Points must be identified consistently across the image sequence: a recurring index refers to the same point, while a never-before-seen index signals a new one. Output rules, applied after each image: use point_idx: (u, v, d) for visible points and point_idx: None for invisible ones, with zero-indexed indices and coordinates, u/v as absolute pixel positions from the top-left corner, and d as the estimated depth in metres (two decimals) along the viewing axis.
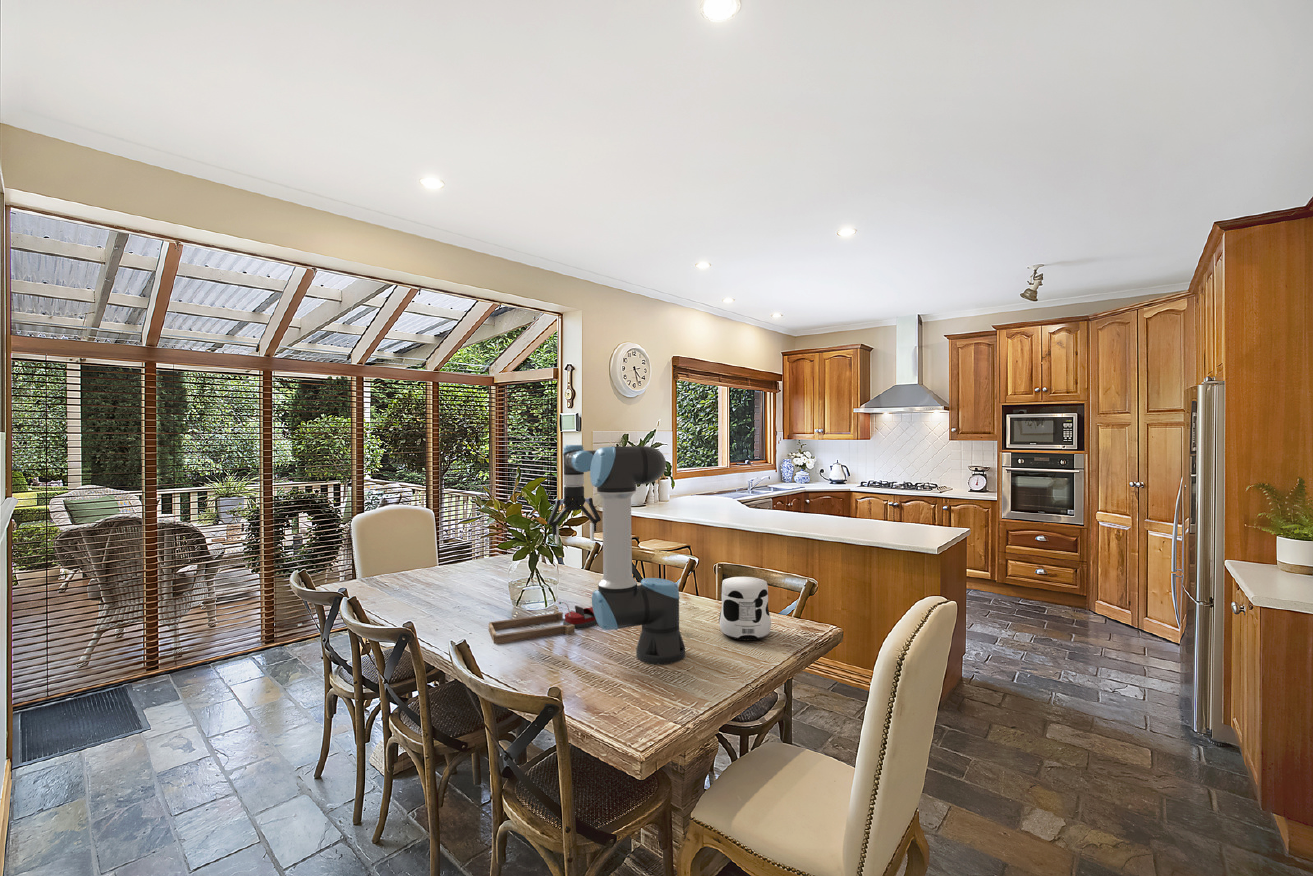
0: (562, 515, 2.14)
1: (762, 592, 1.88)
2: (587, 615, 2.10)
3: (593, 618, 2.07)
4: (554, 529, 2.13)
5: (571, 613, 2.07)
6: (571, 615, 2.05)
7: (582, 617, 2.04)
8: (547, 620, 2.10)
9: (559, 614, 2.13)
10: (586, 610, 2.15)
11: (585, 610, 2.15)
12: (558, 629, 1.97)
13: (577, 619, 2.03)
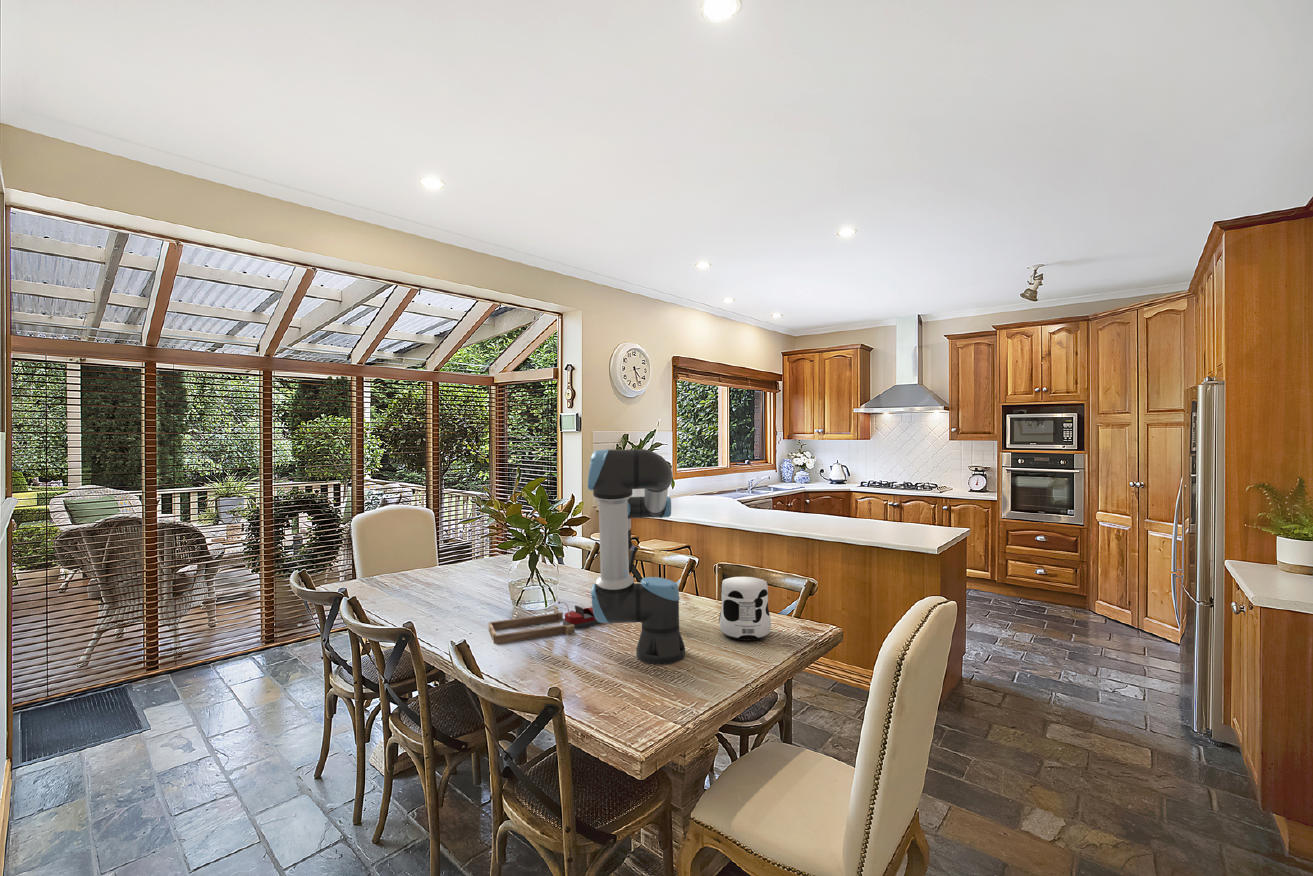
0: None
1: (762, 592, 1.88)
2: (587, 615, 2.10)
3: (593, 618, 2.06)
4: None
5: (571, 613, 2.07)
6: (570, 614, 2.06)
7: (581, 617, 2.04)
8: (547, 620, 2.10)
9: (559, 614, 2.13)
10: (587, 610, 2.15)
11: (586, 610, 2.15)
12: (558, 629, 1.97)
13: (576, 619, 2.03)
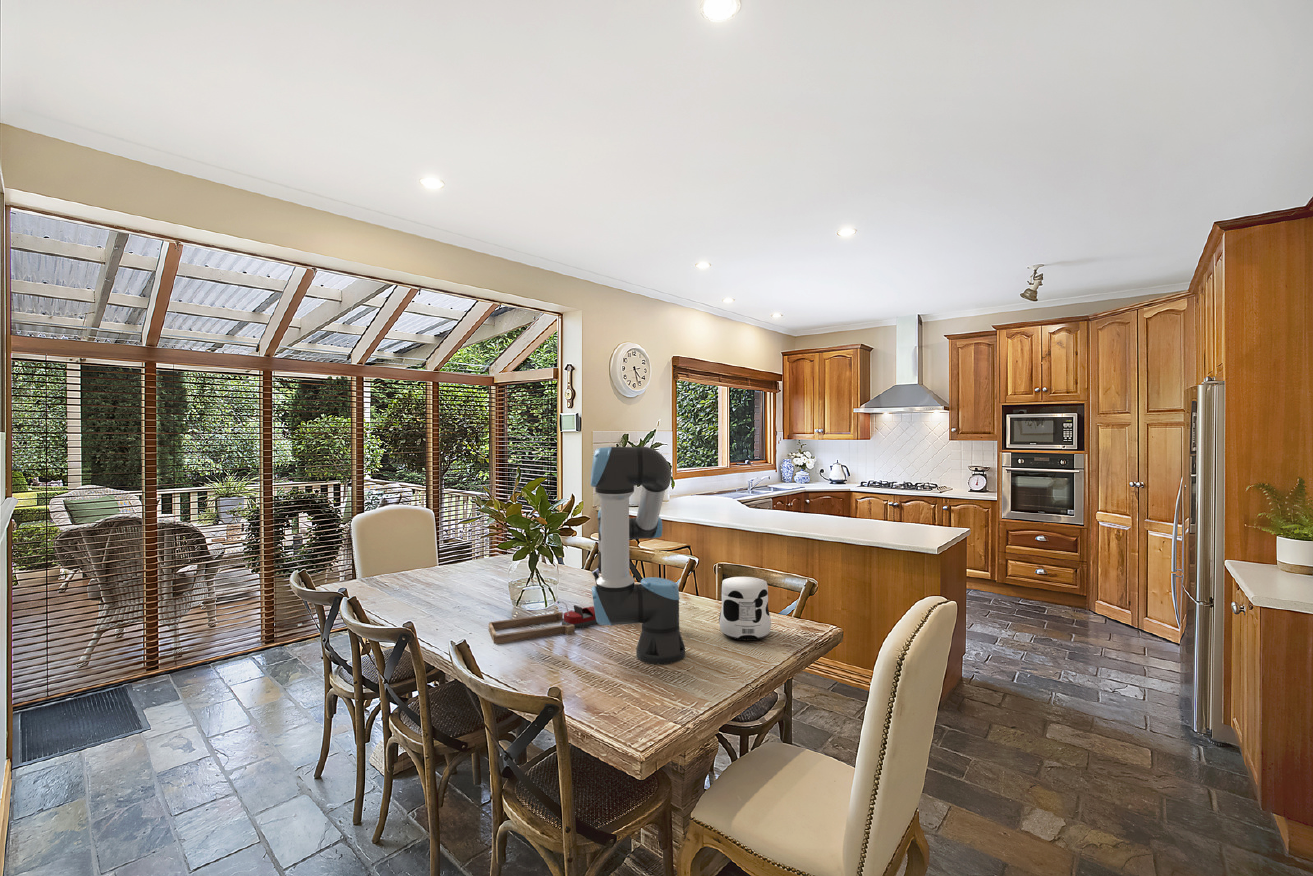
0: None
1: (762, 592, 1.88)
2: (586, 615, 2.10)
3: (592, 618, 2.06)
4: None
5: (570, 612, 2.07)
6: (569, 614, 2.05)
7: (580, 617, 2.04)
8: (547, 620, 2.10)
9: (559, 614, 2.13)
10: (585, 610, 2.15)
11: (584, 610, 2.14)
12: (558, 629, 1.97)
13: (576, 618, 2.03)
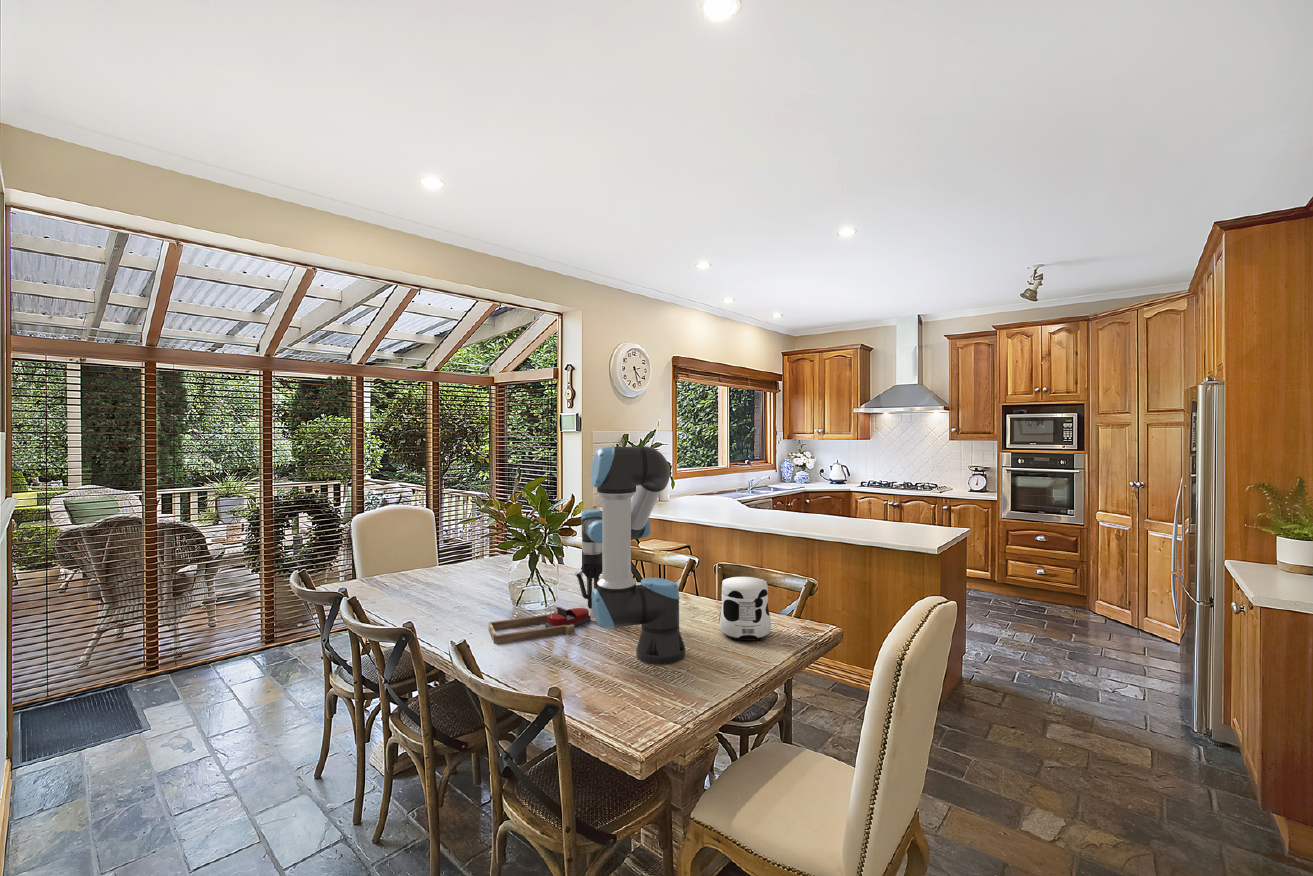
0: (590, 586, 2.09)
1: (762, 592, 1.88)
2: (569, 616, 2.08)
3: (575, 619, 2.04)
4: (590, 603, 2.09)
5: (553, 615, 2.05)
6: (553, 616, 2.03)
7: (564, 618, 2.02)
8: None
9: None
10: (568, 611, 2.13)
11: (567, 611, 2.12)
12: (558, 629, 1.97)
13: (559, 620, 2.01)
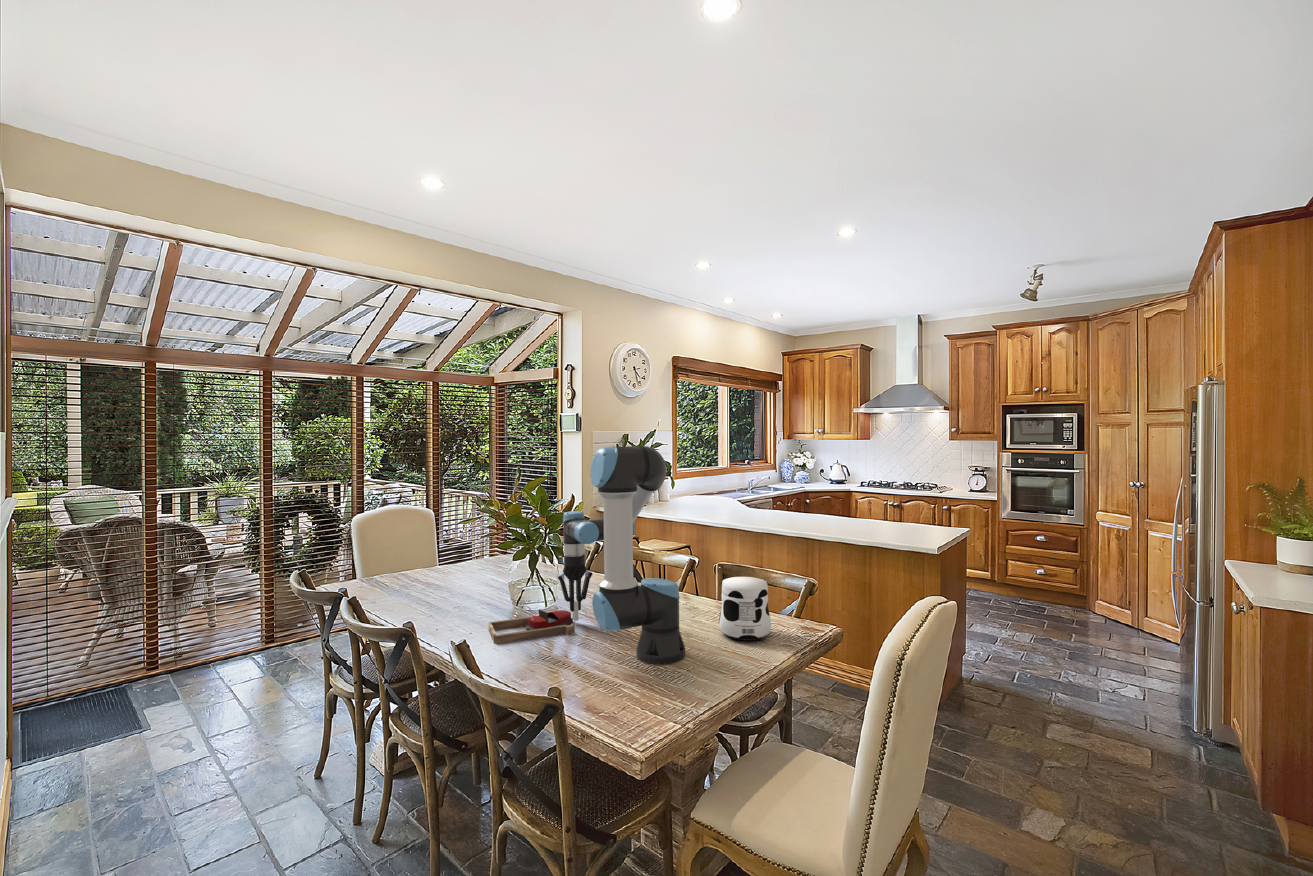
0: (572, 588, 2.06)
1: (762, 592, 1.88)
2: (551, 619, 2.05)
3: (557, 622, 2.02)
4: (572, 605, 2.06)
5: (534, 617, 2.02)
6: (534, 619, 2.00)
7: (545, 621, 1.99)
8: None
9: None
10: (551, 614, 2.10)
11: (549, 614, 2.09)
12: (558, 629, 1.97)
13: (540, 623, 1.98)
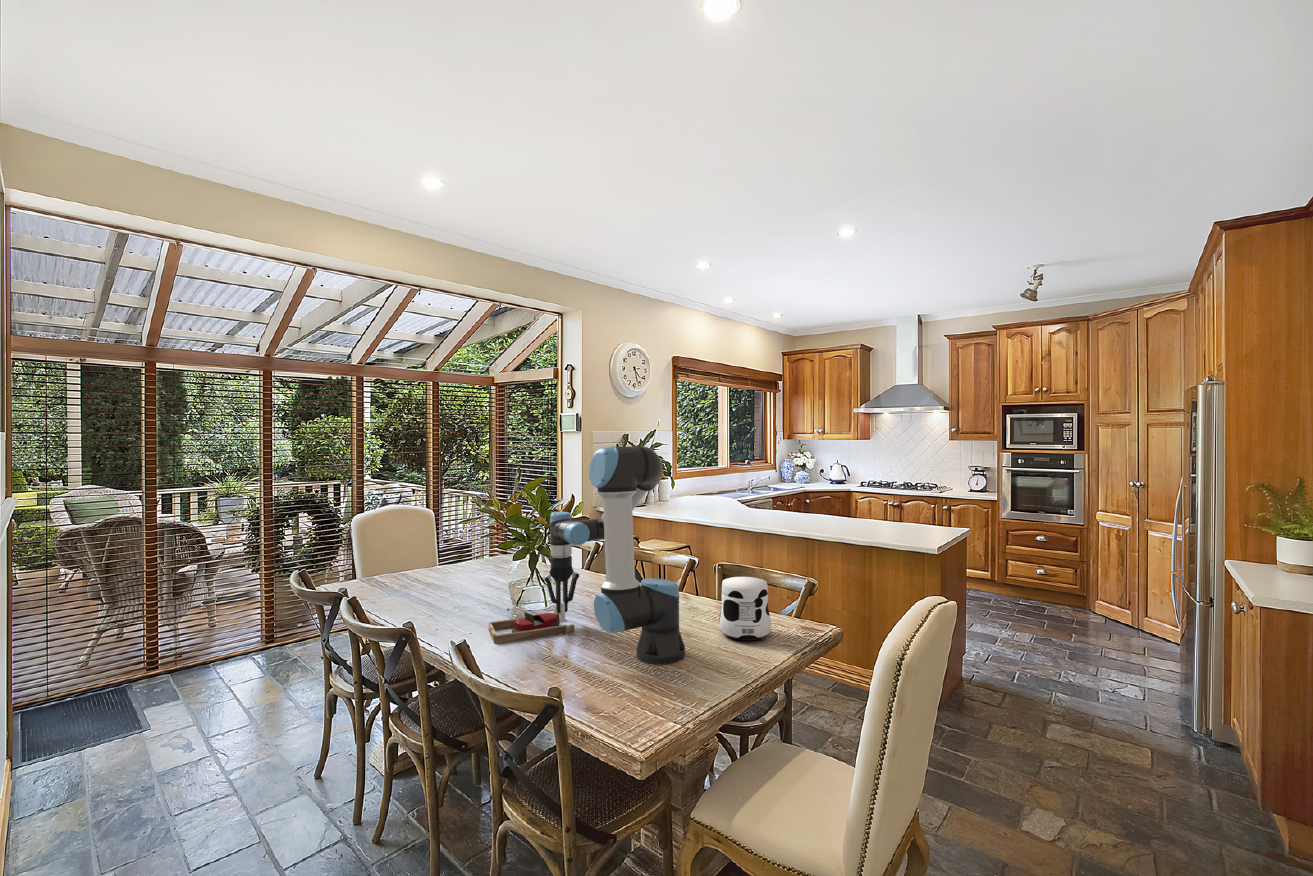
0: (559, 590, 2.04)
1: (762, 592, 1.88)
2: (537, 622, 2.03)
3: (543, 625, 2.00)
4: (558, 607, 2.05)
5: (520, 620, 2.00)
6: (520, 622, 1.98)
7: (531, 624, 1.97)
8: None
9: None
10: (537, 616, 2.08)
11: (536, 616, 2.07)
12: (558, 629, 1.97)
13: (526, 626, 1.96)
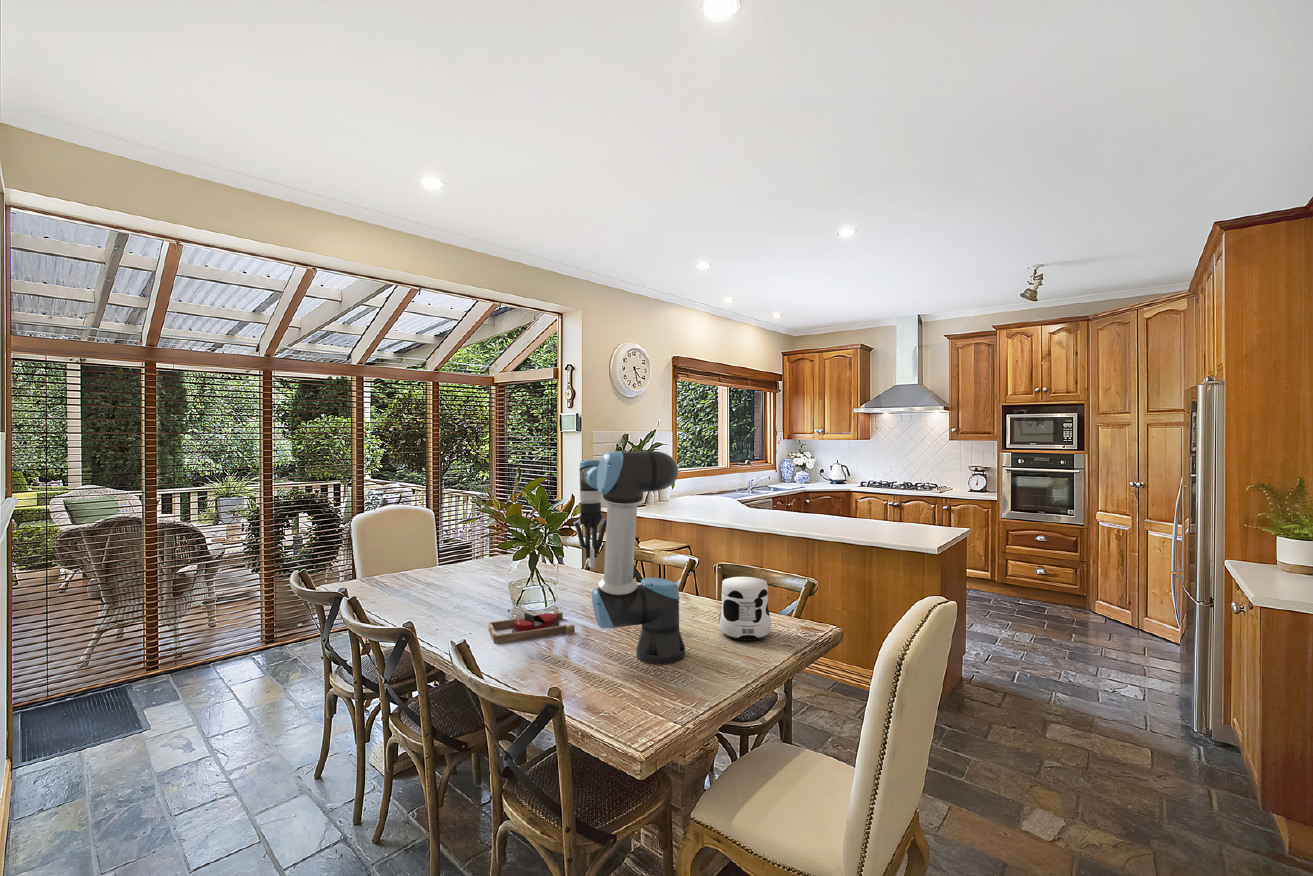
0: (588, 535, 2.08)
1: (762, 592, 1.88)
2: (537, 622, 2.03)
3: (543, 625, 1.99)
4: (588, 552, 2.08)
5: (520, 621, 1.99)
6: (520, 622, 1.97)
7: (532, 625, 1.96)
8: None
9: (559, 614, 2.13)
10: (536, 617, 2.07)
11: (535, 617, 2.07)
12: (558, 629, 1.97)
13: (527, 627, 1.95)
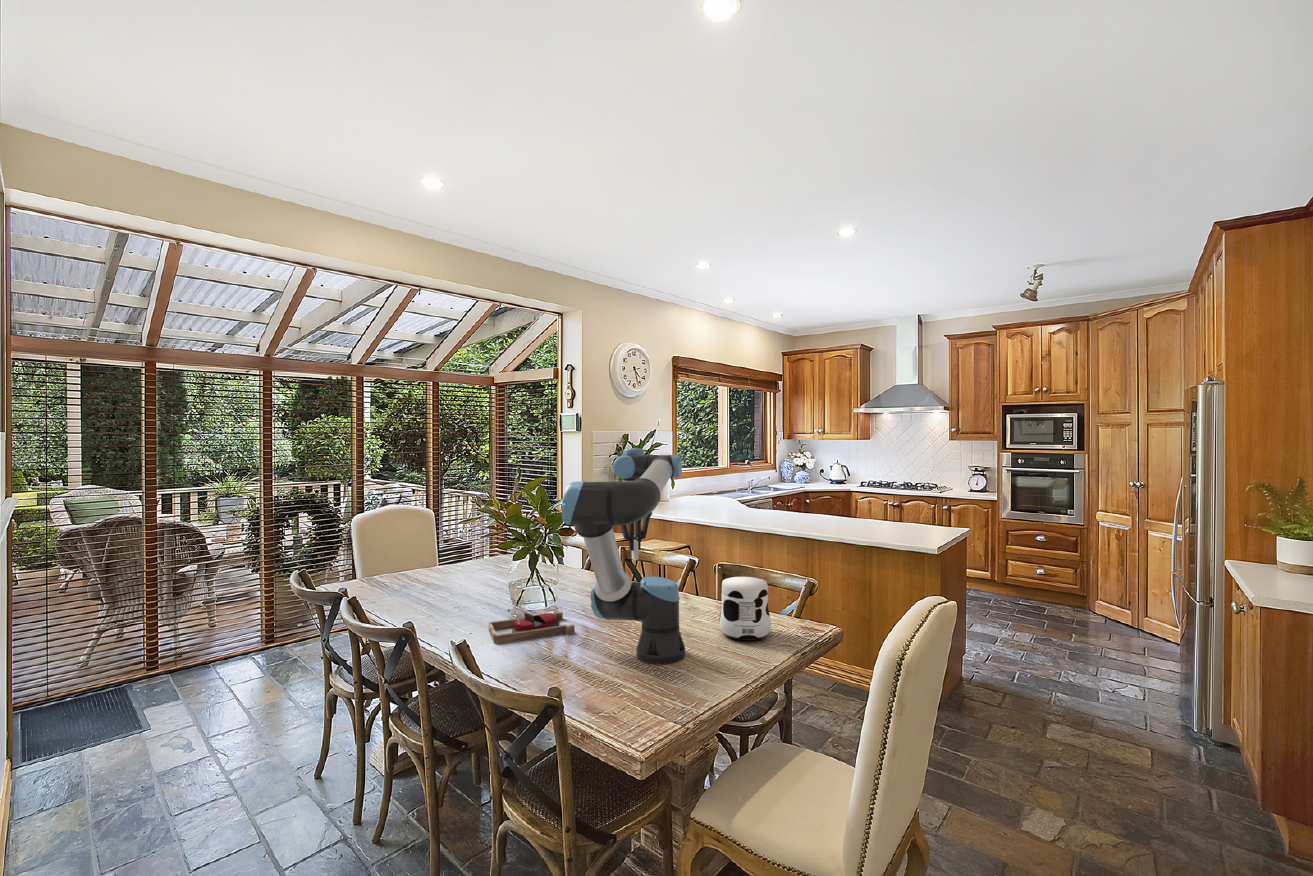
0: (632, 527, 2.00)
1: (762, 592, 1.88)
2: (537, 622, 2.03)
3: (544, 625, 1.99)
4: (631, 544, 2.01)
5: (520, 621, 1.99)
6: (520, 622, 1.97)
7: (532, 625, 1.96)
8: None
9: (559, 614, 2.13)
10: (536, 617, 2.07)
11: (535, 617, 2.07)
12: (558, 629, 1.97)
13: (527, 627, 1.95)
